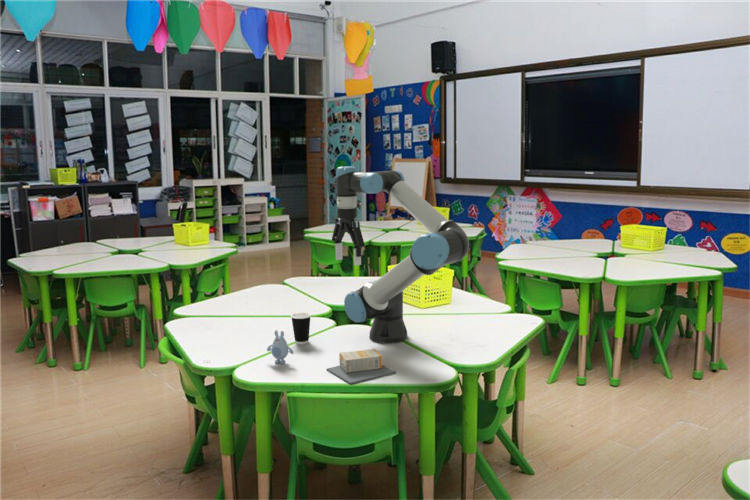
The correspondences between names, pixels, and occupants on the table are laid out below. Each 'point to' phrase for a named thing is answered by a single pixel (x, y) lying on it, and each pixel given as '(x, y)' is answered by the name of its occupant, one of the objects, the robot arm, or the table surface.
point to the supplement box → (360, 360)
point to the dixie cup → (301, 327)
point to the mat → (360, 374)
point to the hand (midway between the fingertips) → (348, 262)
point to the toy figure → (279, 348)
